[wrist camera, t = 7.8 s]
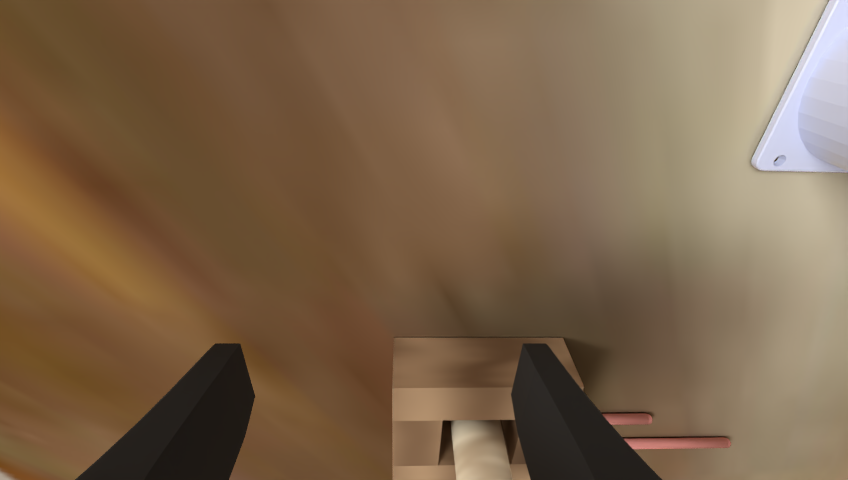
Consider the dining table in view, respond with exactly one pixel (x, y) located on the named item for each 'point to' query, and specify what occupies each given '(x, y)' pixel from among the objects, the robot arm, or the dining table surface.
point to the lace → (662, 442)
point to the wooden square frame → (455, 398)
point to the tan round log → (480, 450)
